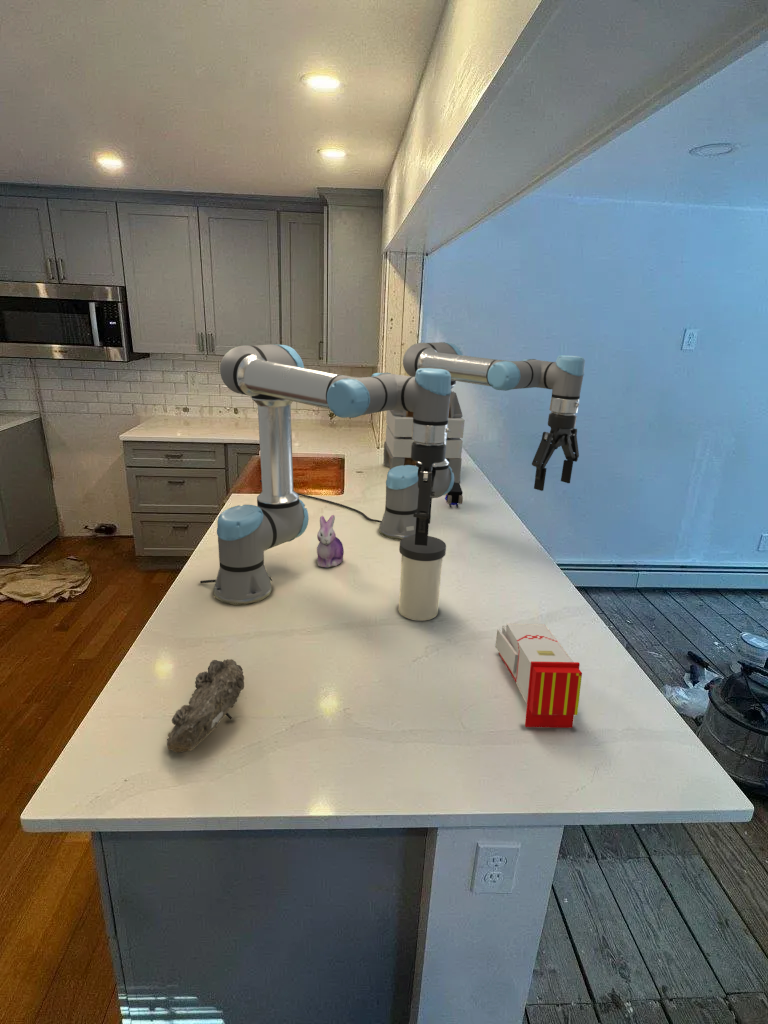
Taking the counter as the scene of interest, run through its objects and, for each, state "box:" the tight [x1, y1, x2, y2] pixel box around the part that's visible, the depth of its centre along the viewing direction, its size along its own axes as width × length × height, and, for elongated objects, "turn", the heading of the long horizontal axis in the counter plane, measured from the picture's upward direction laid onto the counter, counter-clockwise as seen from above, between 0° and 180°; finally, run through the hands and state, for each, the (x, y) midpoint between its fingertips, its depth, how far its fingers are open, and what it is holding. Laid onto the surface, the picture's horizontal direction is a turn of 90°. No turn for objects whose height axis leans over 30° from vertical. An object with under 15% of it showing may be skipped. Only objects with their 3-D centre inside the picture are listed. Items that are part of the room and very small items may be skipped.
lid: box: [398, 535, 447, 561], centre depth 144 cm, size 12×12×2 cm
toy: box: [494, 623, 583, 729], centre depth 120 cm, size 12×13×30 cm
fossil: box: [166, 658, 245, 754], centre depth 106 cm, size 22×10×15 cm
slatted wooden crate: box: [383, 390, 465, 484], centre depth 268 cm, size 34×33×41 cm
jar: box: [398, 554, 443, 622], centre depth 147 cm, size 10×10×19 cm
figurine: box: [316, 514, 345, 568], centre depth 173 cm, size 9×10×15 cm
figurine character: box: [444, 482, 464, 509], centre depth 232 cm, size 7×8×15 cm
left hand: (422, 533), depth 130 cm, fingers open, 13 cm apart
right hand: (552, 485), depth 166 cm, fingers open, 13 cm apart
